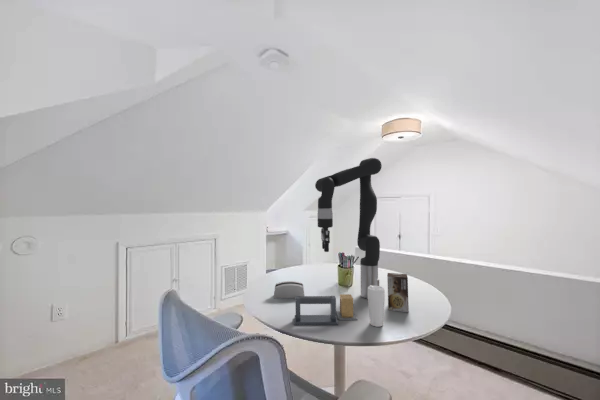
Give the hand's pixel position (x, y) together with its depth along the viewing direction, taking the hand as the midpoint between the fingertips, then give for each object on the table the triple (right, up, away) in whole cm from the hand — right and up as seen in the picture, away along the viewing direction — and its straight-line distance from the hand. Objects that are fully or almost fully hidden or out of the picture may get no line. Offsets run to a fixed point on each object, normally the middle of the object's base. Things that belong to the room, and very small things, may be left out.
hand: (325, 250), depth 128 cm
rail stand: (-6, -27, -19) cm, 33 cm away
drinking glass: (+19, -27, -22) cm, 39 cm away
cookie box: (+34, -27, -6) cm, 44 cm away
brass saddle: (+8, -26, -14) cm, 31 cm away
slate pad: (+8, -27, -14) cm, 31 cm away
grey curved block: (-18, -28, +11) cm, 35 cm away
